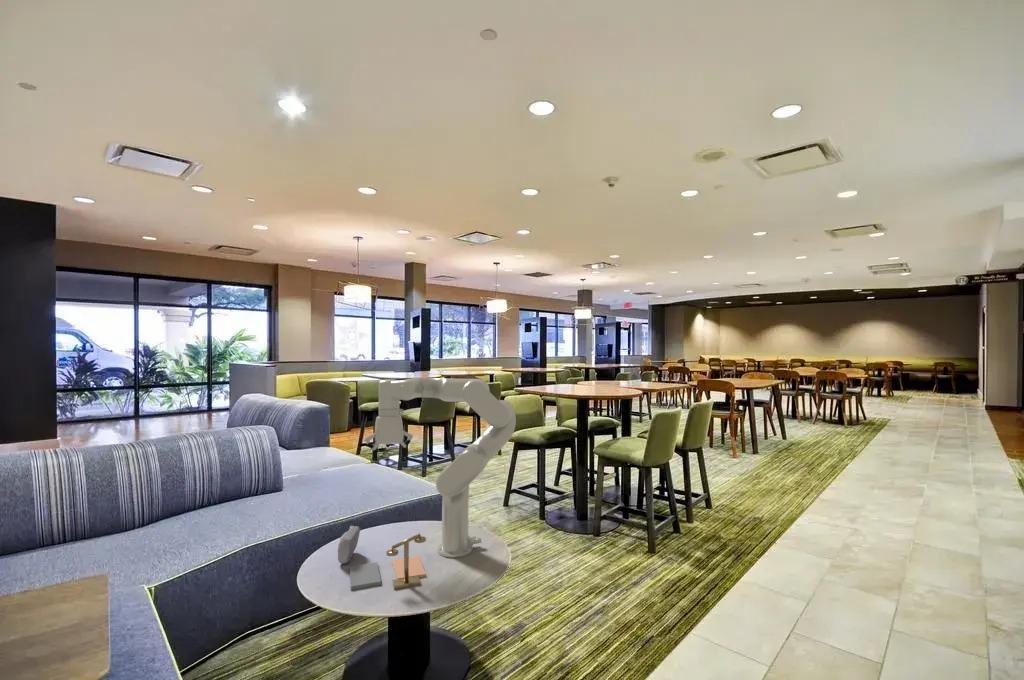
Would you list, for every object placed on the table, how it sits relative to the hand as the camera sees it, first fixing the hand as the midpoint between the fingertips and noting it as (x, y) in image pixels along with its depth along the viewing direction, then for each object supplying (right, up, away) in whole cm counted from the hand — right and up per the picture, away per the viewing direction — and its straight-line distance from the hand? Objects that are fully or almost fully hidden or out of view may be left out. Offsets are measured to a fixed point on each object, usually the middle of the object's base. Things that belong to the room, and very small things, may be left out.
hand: (389, 459), depth 177 cm
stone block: (-12, -33, -9) cm, 36 cm away
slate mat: (-2, -33, -22) cm, 40 cm away
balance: (+12, -33, -27) cm, 44 cm away
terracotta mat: (+11, -33, -17) cm, 39 cm away
